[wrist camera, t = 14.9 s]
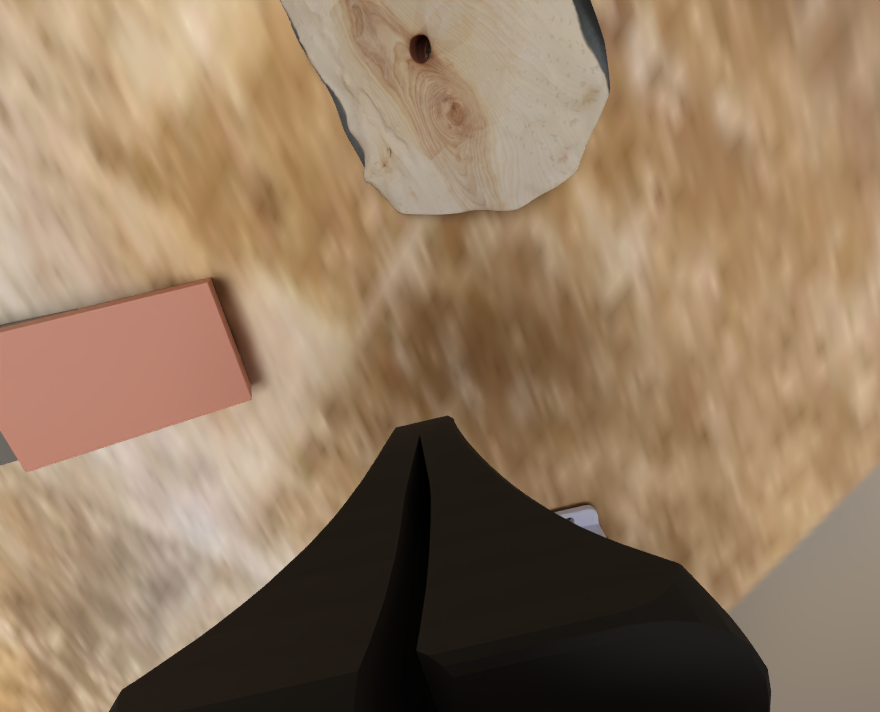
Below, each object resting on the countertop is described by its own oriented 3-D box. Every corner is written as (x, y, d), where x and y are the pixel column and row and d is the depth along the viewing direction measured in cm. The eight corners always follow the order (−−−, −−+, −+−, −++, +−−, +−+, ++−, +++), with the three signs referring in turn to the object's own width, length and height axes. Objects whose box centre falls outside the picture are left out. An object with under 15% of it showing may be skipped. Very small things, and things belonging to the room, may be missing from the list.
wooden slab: (333, 174, 22) (582, 232, 18) (280, 186, 19) (562, 257, 15) (326, -173, 16) (701, -195, 12) (247, -231, 13) (704, -282, 9)
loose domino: (251, 385, 21) (45, 450, 18) (210, 277, 19) (-24, 333, 16) (251, 399, 19) (25, 472, 17) (207, 282, 17) (-53, 345, 15)
